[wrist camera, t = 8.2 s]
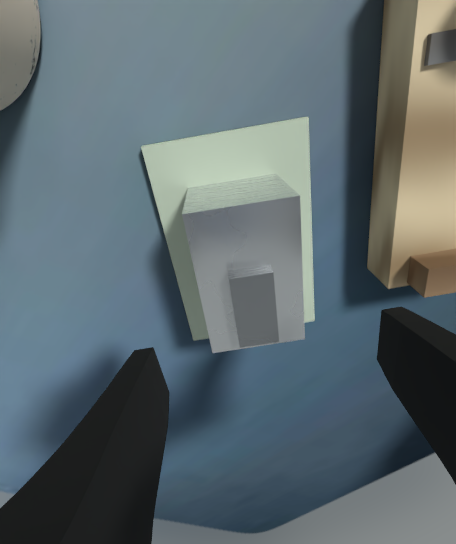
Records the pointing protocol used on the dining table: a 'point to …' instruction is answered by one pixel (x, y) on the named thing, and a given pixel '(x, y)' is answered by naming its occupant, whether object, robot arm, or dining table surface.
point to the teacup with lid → (17, 47)
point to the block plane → (415, 149)
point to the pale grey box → (247, 260)
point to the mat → (221, 168)
